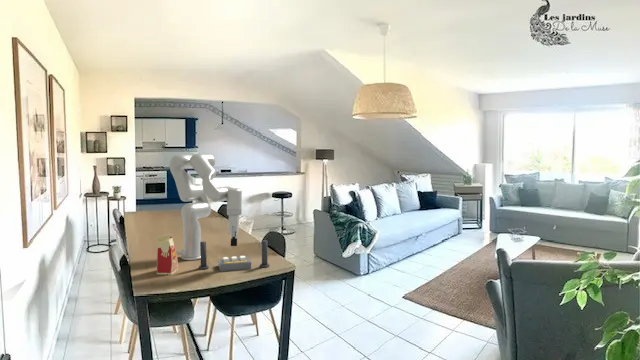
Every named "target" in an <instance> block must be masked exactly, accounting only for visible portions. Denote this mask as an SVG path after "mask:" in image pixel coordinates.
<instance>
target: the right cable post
mask: <svg viewBox="0 0 640 360" xmlns="http://www.w3.org/2000/svg"><path fill="white" fill-rule="evenodd" d="M269 267H270V263H268V240H265V239H263V240H261V263H260V264H259V268H264V269H265V268H269Z"/></svg>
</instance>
